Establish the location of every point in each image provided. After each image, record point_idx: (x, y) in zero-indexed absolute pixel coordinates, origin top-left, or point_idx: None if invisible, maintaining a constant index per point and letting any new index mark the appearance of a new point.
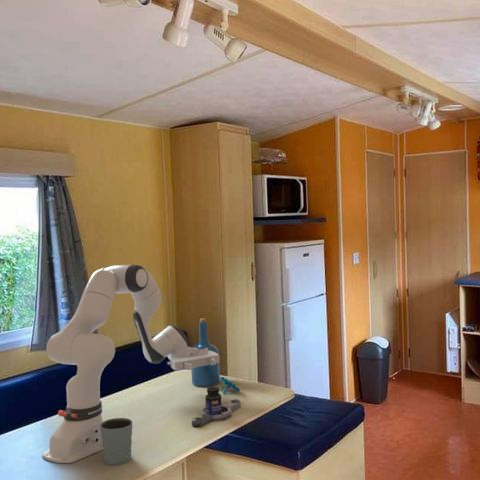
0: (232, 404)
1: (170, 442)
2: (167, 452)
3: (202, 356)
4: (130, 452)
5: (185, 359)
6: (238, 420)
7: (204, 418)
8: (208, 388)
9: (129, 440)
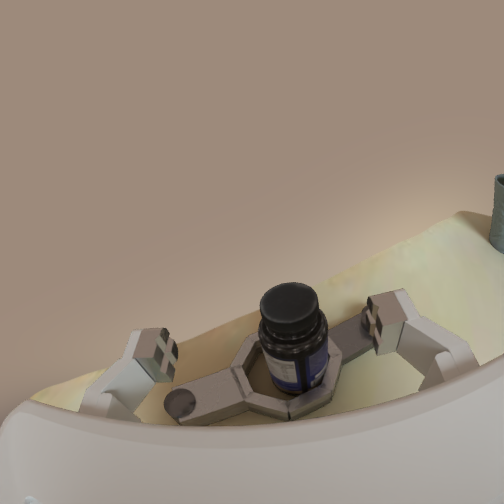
0: (208, 382)
1: (439, 270)
2: (438, 242)
3: (147, 471)
4: (491, 228)
5: (469, 424)
6: (249, 321)
7: (343, 343)
8: (306, 310)
9: (494, 205)
